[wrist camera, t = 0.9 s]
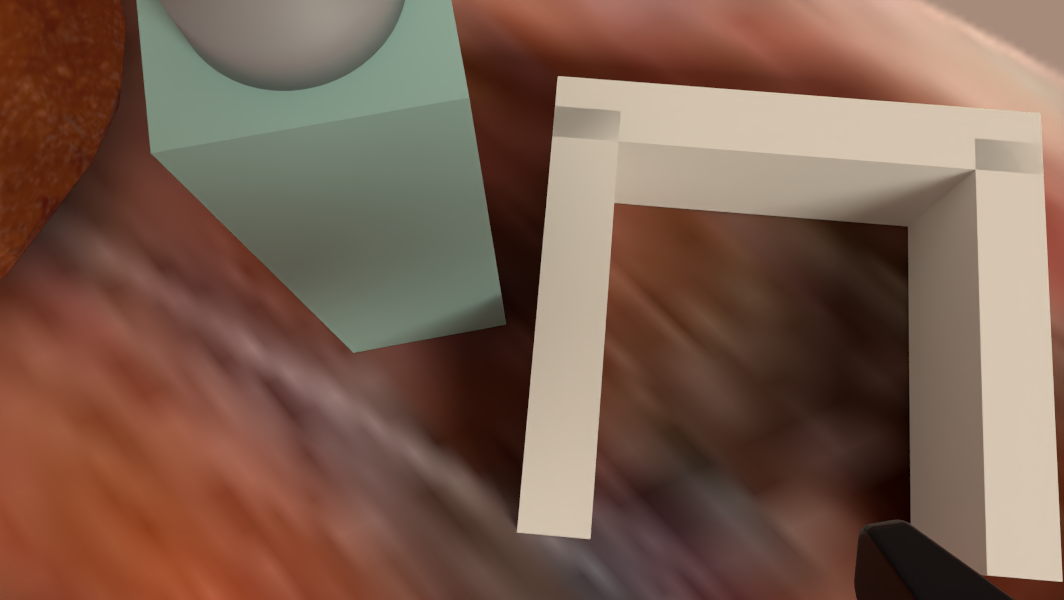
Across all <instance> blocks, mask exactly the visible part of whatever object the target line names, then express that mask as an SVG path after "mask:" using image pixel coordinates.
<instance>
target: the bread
mask: <svg viewBox="0 0 1064 600" xmlns="http://www.w3.org/2000/svg"><path fill="white" fill-rule="evenodd" d="M125 34H126V21H125V17H124V13H123V9H122V5H121V2H120V0H0V279H2V278H3V277H4V276H6V275H7V274H8V273H9V272H10V270H11V269H12V268H13V266H14V265H15V264H16V262H17V261H18V260H19V258H20V257H21V256H22V254H23V253H24V252H25V250H26V249H27V248H28V246H29V245H30V244H31V242H32V241H33V240H34V239H35V237H36V236H37V235H38V233H39V232H40V231H41V229H42V228H43V227H44V225H45V224H46V223H47V221H48V220H49V219H50V217H51V216H52V215H53V213H54V212H55V211H56V209H57V208H58V207H59V205H60V204H61V203H62V201H63V200H64V199H65V197H66V196H67V195H68V193H69V192H70V191H71V189H72V188H73V187H74V186H75V184H76V183H77V182H78V180H79V179H80V178H81V176H82V175H83V174H84V172H85V171H86V170H87V168H88V167H89V166H90V164H91V163H92V161H93V159H94V157H95V155H96V153H97V151H98V149H99V147H100V144H101V142H102V140H103V138H104V136H105V134H106V132H107V130H108V128H109V126H110V124H111V122H112V120H113V117H114V115H115V113H116V111H117V109H118V105H119V98H120V92H121V84H122V72H123V59H124V47H125Z"/></svg>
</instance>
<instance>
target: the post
mask: <svg viewBox="0 0 1064 600" xmlns="http://www.w3.org/2000/svg"><path fill="white" fill-rule="evenodd" d="M136 2H137V13H138V23H139V34H140V45H141V56H142V66H143V77H144V88H145V99H146V109H147V120H148V131H149V141H150V152H151V154H152V155H153V156H154V157H155V158H156V159H157V160H158V161H159V162H160V163H161V164H162V165H163V166H164V167H165V168H166V169H167V170H168V171H169V172H170V173H171V174H172V175H173V176H174V177H175V178H176V179H177V180H178V181H179V182H180V183H181V184H182V185H183V186H184V187H185V188H186V189H187V190H188V191H189V192H191V193H192V194H193V195H194V196H195V197H196V198H197V199H198V200H199V201H200V202H201V203H202V204H203V205H204V206H205V207H206V208H207V209H208V210H209V211H210V212H211V213H212V214H213V215H214V216H215V217H216V218H217V219H218V220H219V221H220V222H221V223H222V224H223V225H224V226H225V227H226V228H227V229H228V230H229V231H230V232H231V233H232V234H233V235H234V236H235V237H236V238H237V239H238V240H239V241H240V242H241V243H242V244H243V245H244V246H245V247H246V248H247V249H248V250H250V251H251V252H252V253H253V254H254V255H255V256H256V257H257V258H258V259H259V260H260V261H261V262H262V263H263V264H264V265H265V266H266V267H267V268H268V269H269V270H270V271H271V272H272V273H273V274H274V275H275V276H276V277H277V278H278V279H279V280H280V281H281V282H282V283H283V284H284V285H285V286H286V287H287V288H288V289H289V290H290V291H291V292H292V293H293V294H294V295H295V296H296V297H297V298H298V299H299V300H300V301H301V302H302V303H303V304H304V305H305V306H306V307H307V308H309V309H310V310H311V311H312V312H313V313H314V314H315V315H316V316H317V317H318V318H319V319H320V320H321V321H322V322H323V323H324V324H325V325H326V326H327V327H328V328H329V329H330V330H331V331H332V332H333V333H334V334H335V335H336V336H337V337H338V338H339V339H340V340H341V341H342V342H343V343H344V344H345V345H346V346H347V347H348V348H349V349H350V350H351V351H352V352H353V353H355V352H360V351H366V350H371V349H377V348H382V347H388V346H393V345H399V344H404V343H409V342H415V341H420V340H426V339H431V338H437V337H442V336H448V335H453V334H458V333H464V332H469V331H475V330H480V329H486V328H491V327H496V326H502V325H506V320H505V313H504V307H503V301H502V295H501V289H500V283H499V277H498V270H497V264H496V258H495V252H494V246H493V240H492V234H491V228H490V221H489V215H488V209H487V203H486V197H485V191H484V185H483V178H482V172H481V166H480V160H479V154H478V148H477V142H476V136H475V129H474V123H473V117H472V111H471V105H470V99H469V93H468V88H467V82H466V77H465V72H464V66H463V61H462V56H461V50H460V45H459V39H458V34H457V29H456V23H455V18H454V12H453V7H452V2H451V0H136Z"/></svg>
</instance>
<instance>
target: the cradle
mask: <svg viewBox="0 0 1064 600" xmlns="http://www.w3.org/2000/svg"><path fill="white" fill-rule="evenodd" d="M614 203H621V204H634V205H646V206H659V207H671V208H683V209H696V210H708V211H721V212H733V213H746V214H758V215H770V216H783V217H795V218H808V219H820V220H833V221H845V222H858V223H870V224H882V225H895V226H907V227H908V297H909V404H910V511H911V525H913V526H914V527H915V528H917V529H918V530H919V531H921V532H922V533H924V534H925V535H926V536H928V537H929V538H931V539H932V540H933V541H935V542H936V543H938V544H939V545H940V546H942V547H943V548H944V549H946V550H947V551H949V552H950V553H951V554H953V555H954V556H956V557H957V558H958V559H960V560H961V561H962V562H964V563H965V564H967V565H968V566H969V567H971V568H972V569H974V570H975V571H976V572H978V573H979V574H980V575H989V576H1000V577H1012V578H1023V579H1035V580H1047V581H1058V582H1063V580H1062V558H1061V537H1060V516H1059V494H1058V473H1057V452H1056V430H1055V409H1054V388H1053V366H1052V345H1051V324H1050V302H1049V281H1048V260H1047V238H1046V217H1045V196H1044V174H1043V153H1042V132H1041V113H1034V112H1021V111H1007V110H994V109H981V108H968V107H955V106H942V105H929V104H916V103H903V102H890V101H877V100H864V99H851V98H838V97H825V96H812V95H799V94H786V93H772V92H759V91H746V90H733V89H720V88H707V87H694V86H681V85H668V84H655V83H642V82H629V81H616V80H603V79H590V78H577V77H564V76H558V79H557V90H556V101H555V112H554V124H553V135H552V146H551V157H550V168H549V180H548V191H547V202H546V213H545V224H544V235H543V247H542V258H541V269H540V280H539V291H538V303H537V314H536V325H535V336H534V347H533V359H532V370H531V381H530V392H529V403H528V414H527V426H526V437H525V448H524V459H523V470H522V482H521V493H520V504H519V515H518V526H517V532H518V533H526V534H537V535H548V536H559V537H570V538H581V539H590V536H591V522H592V508H593V494H594V480H595V466H596V451H597V437H598V423H599V409H600V395H601V381H602V367H603V353H604V339H605V324H606V310H607V296H608V282H609V268H610V254H611V240H612V226H613V212H614Z"/></svg>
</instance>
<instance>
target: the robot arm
mask: <svg viewBox="0 0 1064 600" xmlns="http://www.w3.org/2000/svg"><path fill="white" fill-rule="evenodd" d="M854 585H855V592H856V597H857V600H1015V599H1014V598H1012V597H1011V596H1010V595H1008V594H1007V593H1005V592H1004V591H1003V590H1001V589H1000V588H998V587H997V586H996V585H994V584H993V583H992V582H990V581H989V580H987V579H986V578H985V577H983V576H982V575H980V574H979V573H978V572H976V571H975V570H974V569H972V568H971V567H969V566H968V565H967V564H965V563H964V562H962V561H961V560H960V559H958V558H957V557H956V556H954V555H953V554H951V553H950V552H949V551H947V550H946V549H944V548H943V547H942V546H940V545H939V544H938V543H936V542H935V541H933V540H932V539H931V538H929V537H928V536H926V535H925V534H924V533H922V532H921V531H919V530H918V529H917V528H915V527H914V526H913V525H911V524H910V523H908V522H906V521H903V520H889V521H884V522H878V523H872V524H867V525H865V526H863V527H862V529H861V530H860V533H859V537H858V547H857V557H856V567H855V578H854Z"/></svg>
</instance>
